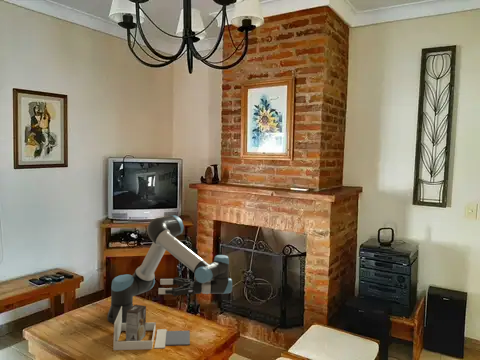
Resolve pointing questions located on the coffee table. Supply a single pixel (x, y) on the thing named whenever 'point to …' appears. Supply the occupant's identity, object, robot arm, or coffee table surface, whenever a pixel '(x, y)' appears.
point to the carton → (137, 344)
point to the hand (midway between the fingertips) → (159, 286)
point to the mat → (177, 338)
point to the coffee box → (135, 323)
